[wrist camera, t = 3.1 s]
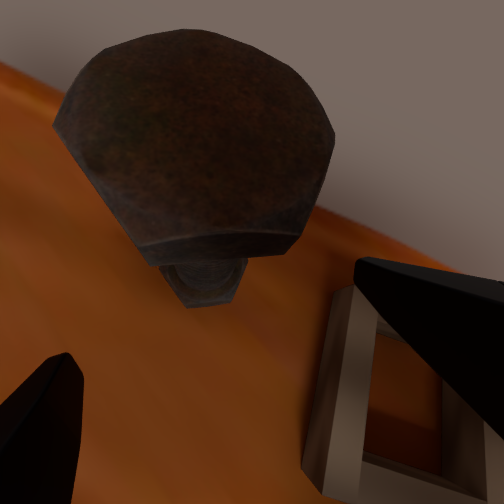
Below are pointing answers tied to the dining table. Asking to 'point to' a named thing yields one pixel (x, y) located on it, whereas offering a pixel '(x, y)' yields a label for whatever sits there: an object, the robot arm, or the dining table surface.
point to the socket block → (354, 422)
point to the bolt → (199, 153)
